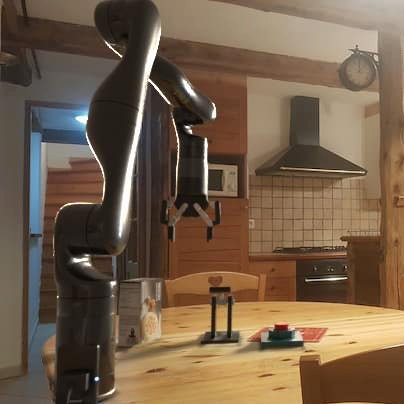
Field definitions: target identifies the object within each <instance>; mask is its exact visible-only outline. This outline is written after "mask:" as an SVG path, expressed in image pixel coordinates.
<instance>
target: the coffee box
mask: <svg viewBox="0 0 404 404" xmlns="http://www.w3.org/2000/svg"><path fill="white" fill-rule="evenodd" d="M162 302H163V277H138V278H132V279H131V278H130V279H126V280H125V279H124V280H120V281H119V282H118V333H117V334H118V335H117V346H118V347H123V348H133V347H134V346H136V345H141V344H144V343H145V344H146V343H148V342H151V341H153V340H156V339H160V338H162V313H163V312H162V309H163V308H162V307H163V306H162V305H163V303H162Z"/></svg>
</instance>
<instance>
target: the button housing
mask: <svg viewBox="0 0 404 404" xmlns="http://www.w3.org/2000/svg"><path fill="white" fill-rule="evenodd" d="M267 329H268V330H267V331H262V332H260V347H261V348H264V349H265V348H287V347H288V348H289V347H291V348H292V347H304V343H305V340H304V338H303V336H302V334H301V331H300V330H296V329H295V327H292V326H289V330H284V331H278V330H274V326H272V327H269V328H267Z"/></svg>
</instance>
